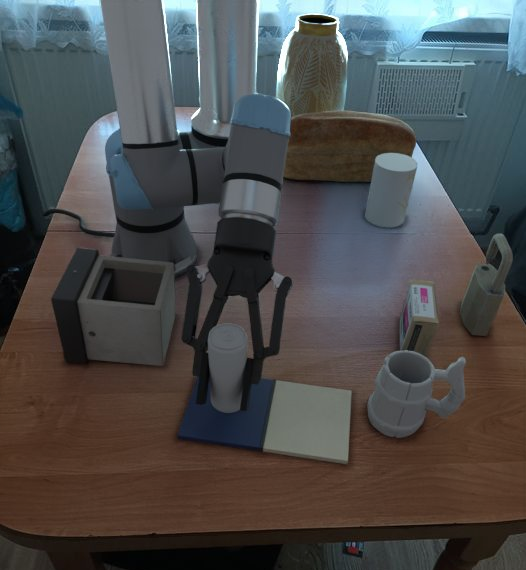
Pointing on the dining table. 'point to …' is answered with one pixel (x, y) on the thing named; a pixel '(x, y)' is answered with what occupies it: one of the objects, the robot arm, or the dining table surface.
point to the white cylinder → (390, 189)
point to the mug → (412, 393)
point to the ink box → (419, 318)
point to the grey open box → (115, 309)
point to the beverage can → (227, 365)
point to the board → (277, 421)
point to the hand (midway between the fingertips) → (222, 406)
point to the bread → (343, 144)
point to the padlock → (486, 289)
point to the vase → (313, 66)
